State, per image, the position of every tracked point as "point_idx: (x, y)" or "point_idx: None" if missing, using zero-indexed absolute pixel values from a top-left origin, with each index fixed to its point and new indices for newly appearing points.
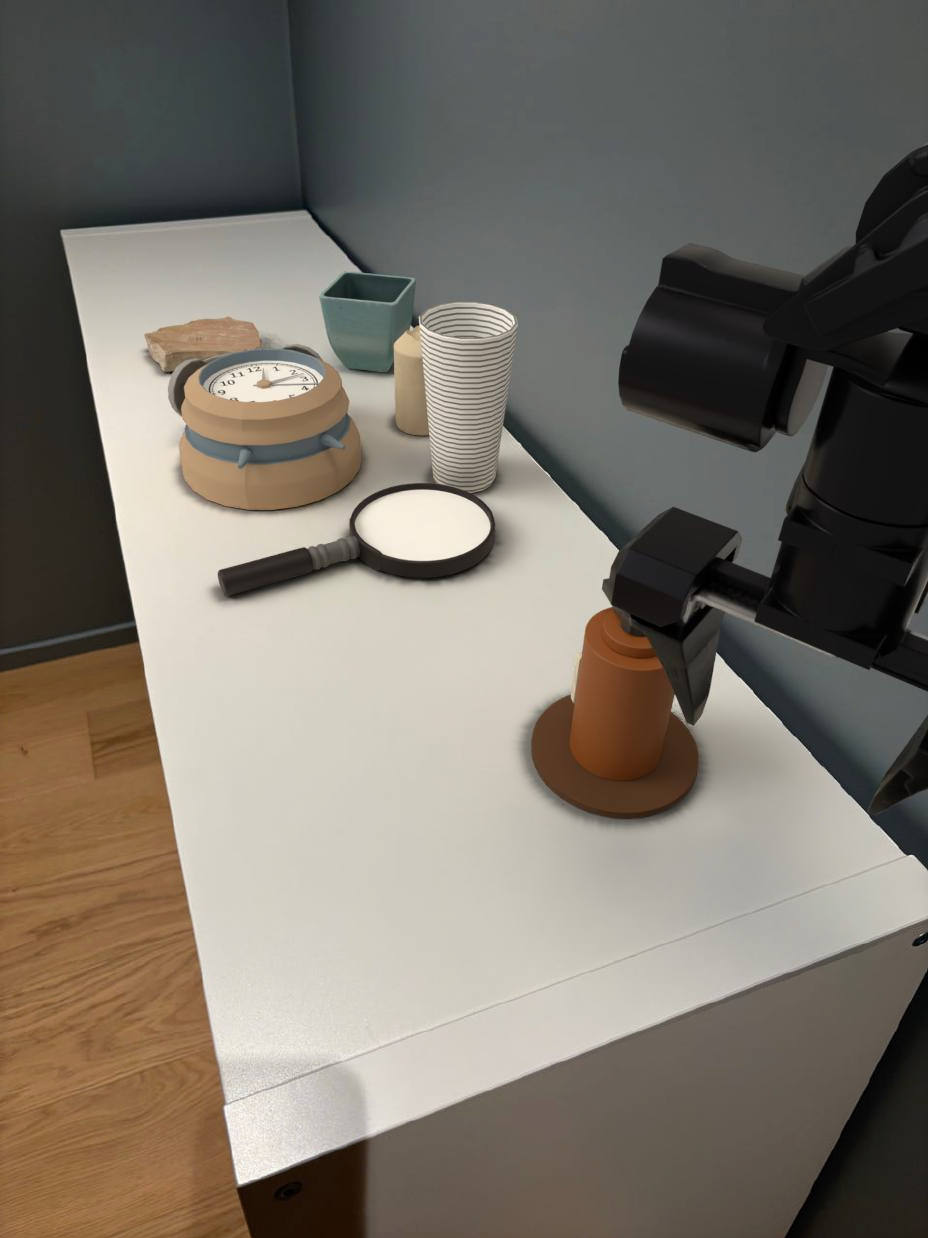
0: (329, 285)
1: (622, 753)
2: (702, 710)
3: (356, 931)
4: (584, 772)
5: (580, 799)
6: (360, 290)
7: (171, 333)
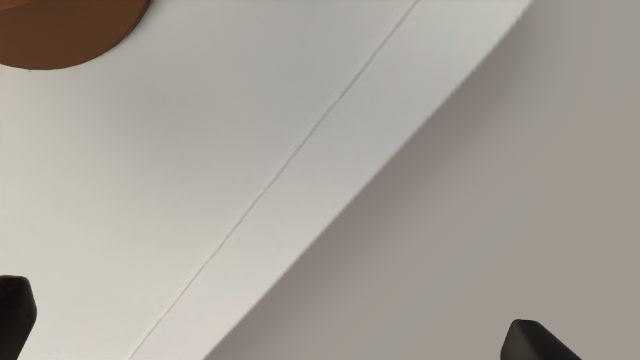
0: None
1: (11, 4)
2: (13, 300)
3: None
4: None
5: (40, 65)
6: None
7: None
